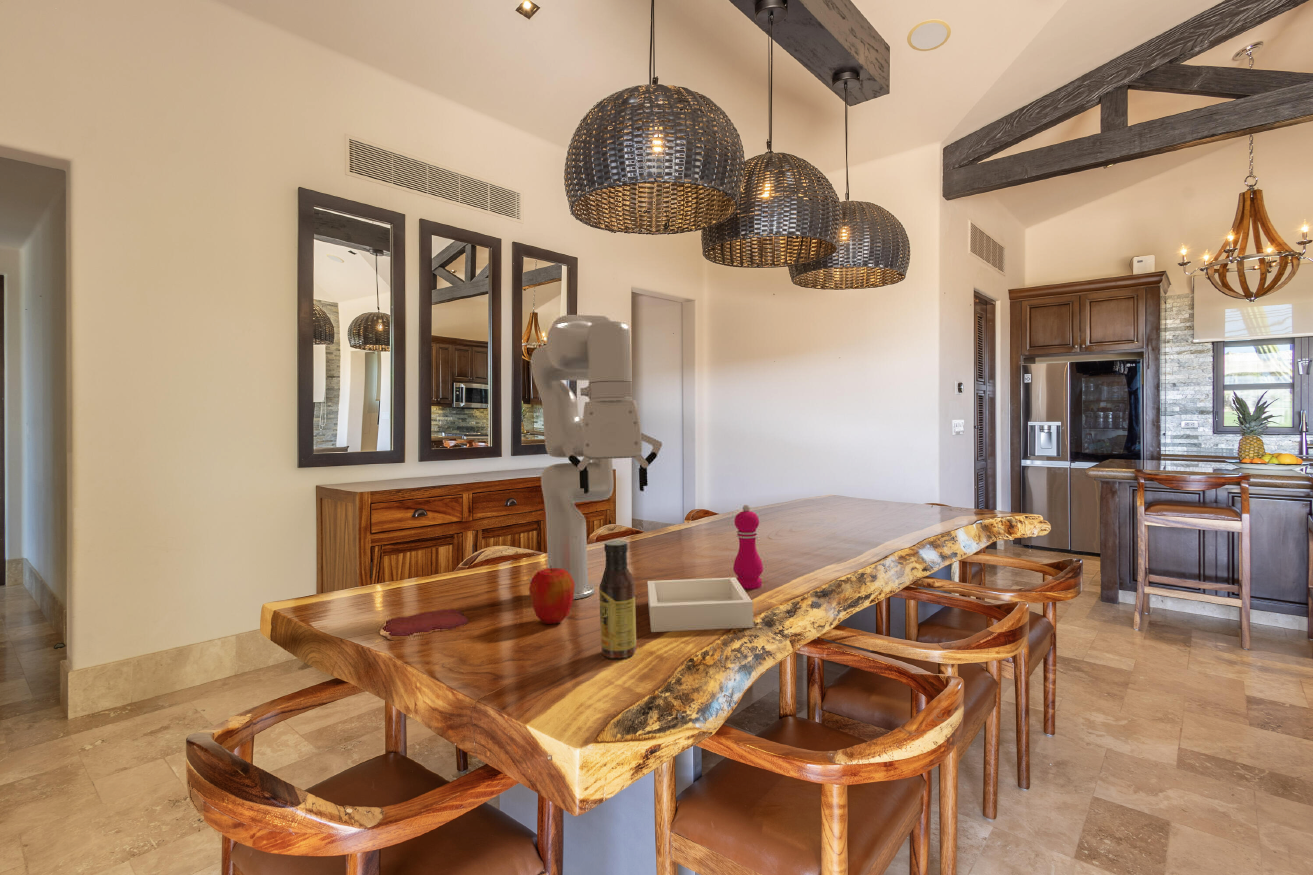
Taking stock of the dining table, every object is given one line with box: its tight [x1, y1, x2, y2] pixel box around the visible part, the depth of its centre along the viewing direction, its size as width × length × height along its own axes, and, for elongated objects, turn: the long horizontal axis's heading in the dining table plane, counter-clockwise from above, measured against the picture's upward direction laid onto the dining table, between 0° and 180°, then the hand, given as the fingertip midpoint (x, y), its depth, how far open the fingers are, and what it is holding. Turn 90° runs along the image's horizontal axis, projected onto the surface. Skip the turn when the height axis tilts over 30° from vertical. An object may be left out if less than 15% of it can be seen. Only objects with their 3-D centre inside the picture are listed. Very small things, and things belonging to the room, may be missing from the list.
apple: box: [528, 565, 575, 625], centre depth 128 cm, size 9×9×12 cm
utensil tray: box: [647, 576, 754, 633], centre depth 131 cm, size 20×20×5 cm
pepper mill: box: [733, 504, 764, 590], centre depth 152 cm, size 7×7×20 cm
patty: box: [381, 609, 469, 636], centre depth 129 cm, size 18×14×2 cm
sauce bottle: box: [598, 539, 637, 659], centre depth 109 cm, size 7×6×20 cm
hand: (614, 491), depth 108 cm, fingers open, 9 cm apart
